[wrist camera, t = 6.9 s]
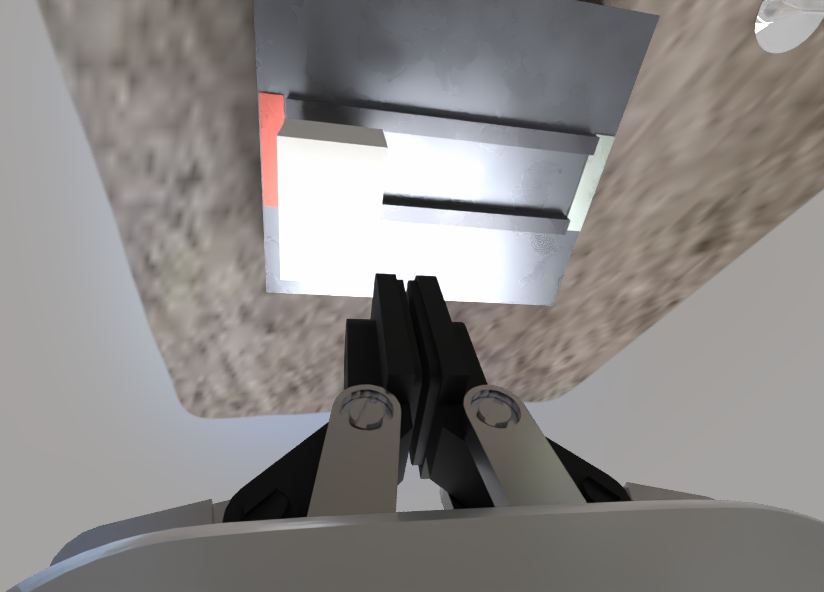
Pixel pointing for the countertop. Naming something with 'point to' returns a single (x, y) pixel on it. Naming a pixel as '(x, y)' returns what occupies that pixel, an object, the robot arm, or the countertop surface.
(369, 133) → the handle
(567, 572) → the robot arm
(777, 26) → the wineglass
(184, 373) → the countertop surface
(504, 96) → the slider base
